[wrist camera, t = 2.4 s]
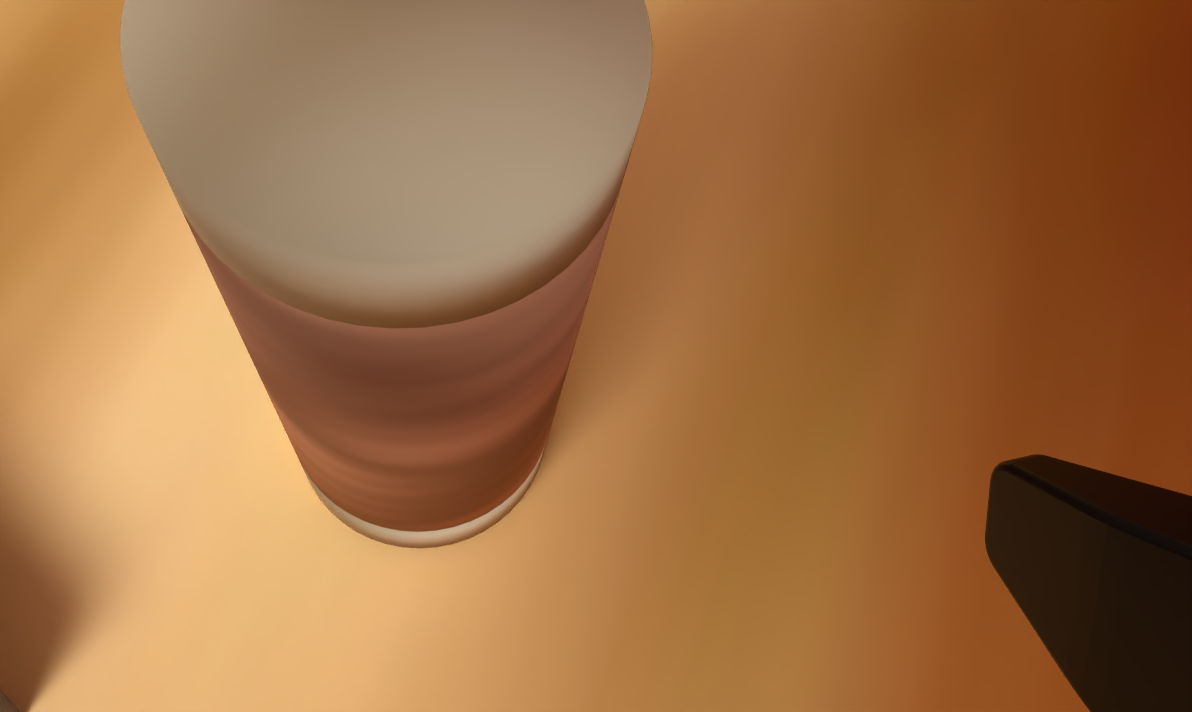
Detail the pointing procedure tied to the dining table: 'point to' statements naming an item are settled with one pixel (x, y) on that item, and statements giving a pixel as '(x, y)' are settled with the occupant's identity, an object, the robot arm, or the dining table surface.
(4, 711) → the notched board
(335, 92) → the bobbin
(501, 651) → the dining table surface
